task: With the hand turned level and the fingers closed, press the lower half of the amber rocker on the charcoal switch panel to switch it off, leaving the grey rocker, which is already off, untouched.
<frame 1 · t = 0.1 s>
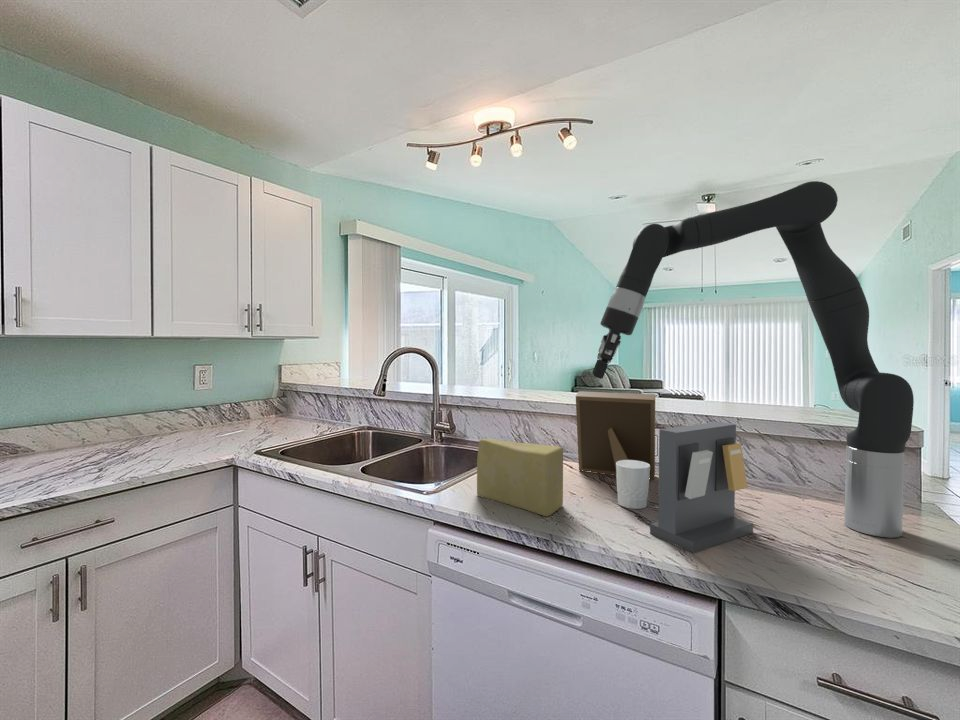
hand: (596, 376, 105), 32 cm above the worktop, tool tilted 20°, fingers open, 8 cm apart
white cup: (632, 505, 110), on the worktop
photo frame: (614, 479, 132), on the worktop
grey rocker: (698, 474, 87), point 14 cm above the worktop, hinge at -10.0°
power panel: (701, 533, 93), on the worktop
cheese: (514, 503, 111), on the worktop
amber rocker: (735, 466, 92), point 14 cm above the worktop, hinge at 10.0°
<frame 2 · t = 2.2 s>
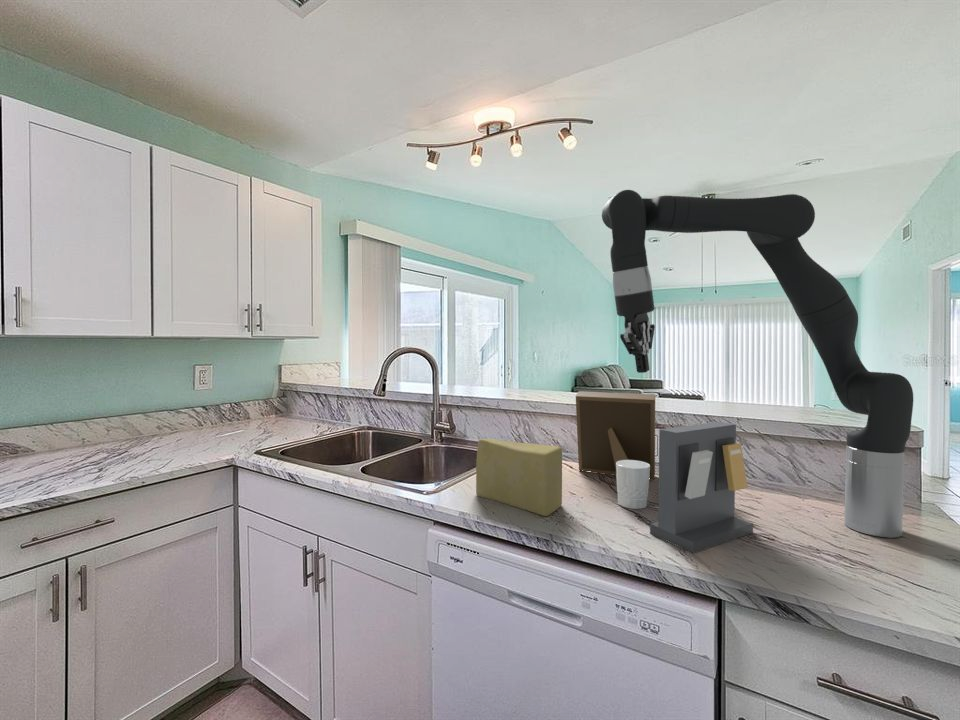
hand: (643, 371, 96), 33 cm above the worktop, tool pointing down, fingers closed
nothing on the worktop moved.
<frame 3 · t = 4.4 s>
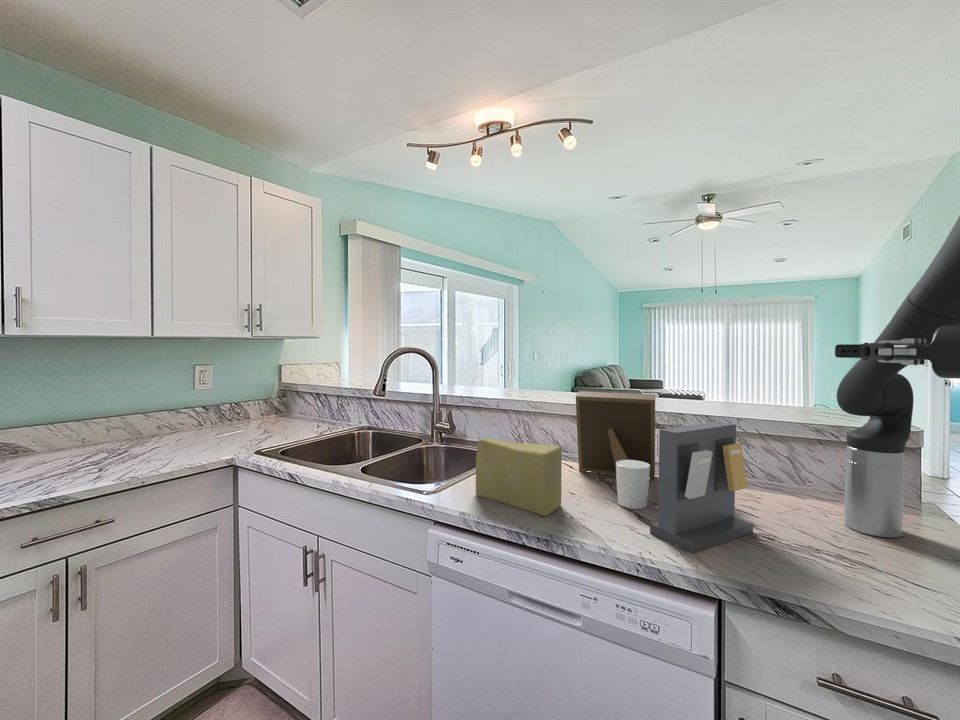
hand: (837, 350, 76), 38 cm above the worktop, tool horizontal, fingers closed
nothing on the worktop moved.
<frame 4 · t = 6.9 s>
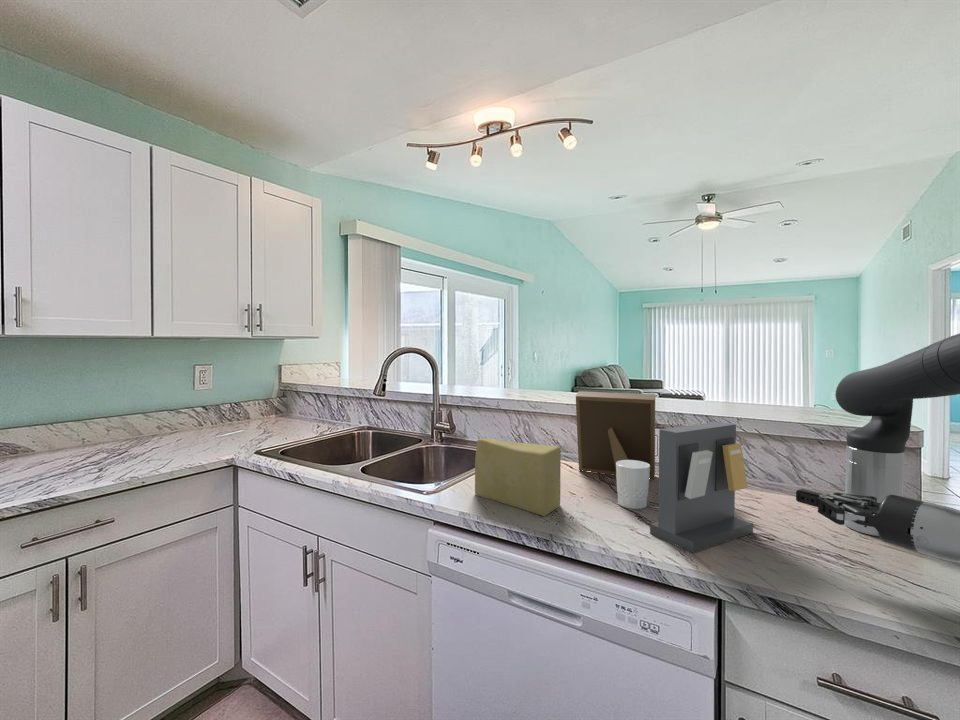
hand: (798, 494, 82), 12 cm above the worktop, tool horizontal, fingers closed
nothing on the worktop moved.
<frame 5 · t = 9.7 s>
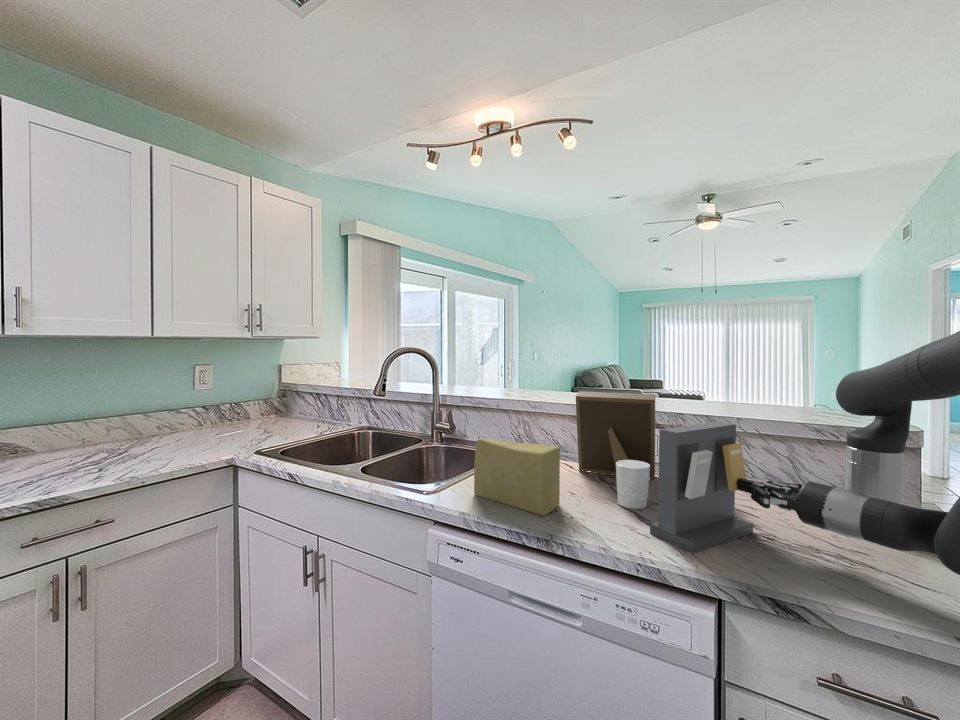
hand: (737, 483, 92), 11 cm above the worktop, tool horizontal, fingers closed
amber rocker: (735, 466, 92), point 14 cm above the worktop, hinge at 9.9°, touching gripper
everything else where it was.
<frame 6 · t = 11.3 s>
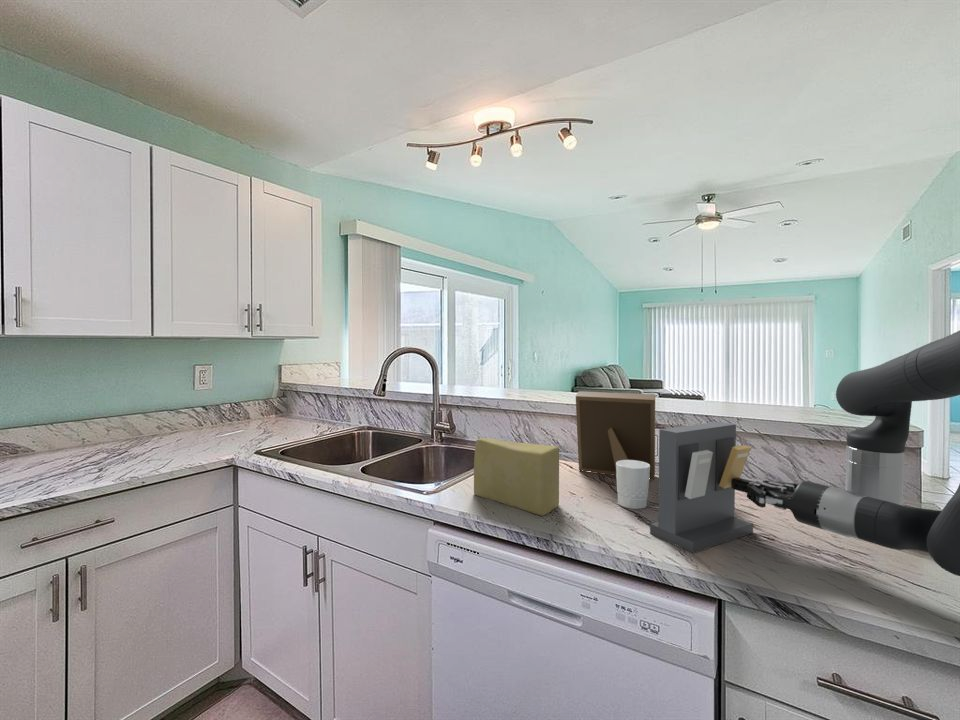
hand: (733, 482, 92), 11 cm above the worktop, tool horizontal, fingers closed
amber rocker: (735, 466, 92), point 14 cm above the worktop, hinge at -17.7°
everything else where it was.
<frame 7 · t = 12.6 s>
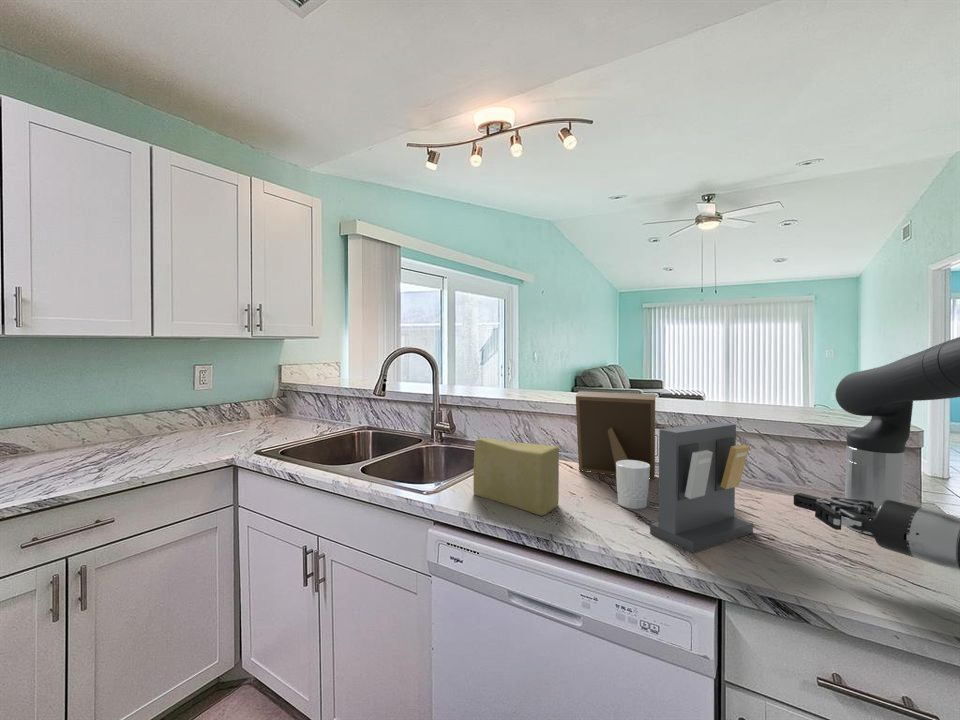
hand: (795, 498, 82), 11 cm above the worktop, tool horizontal, fingers closed
amber rocker: (735, 466, 92), point 14 cm above the worktop, hinge at -13.5°
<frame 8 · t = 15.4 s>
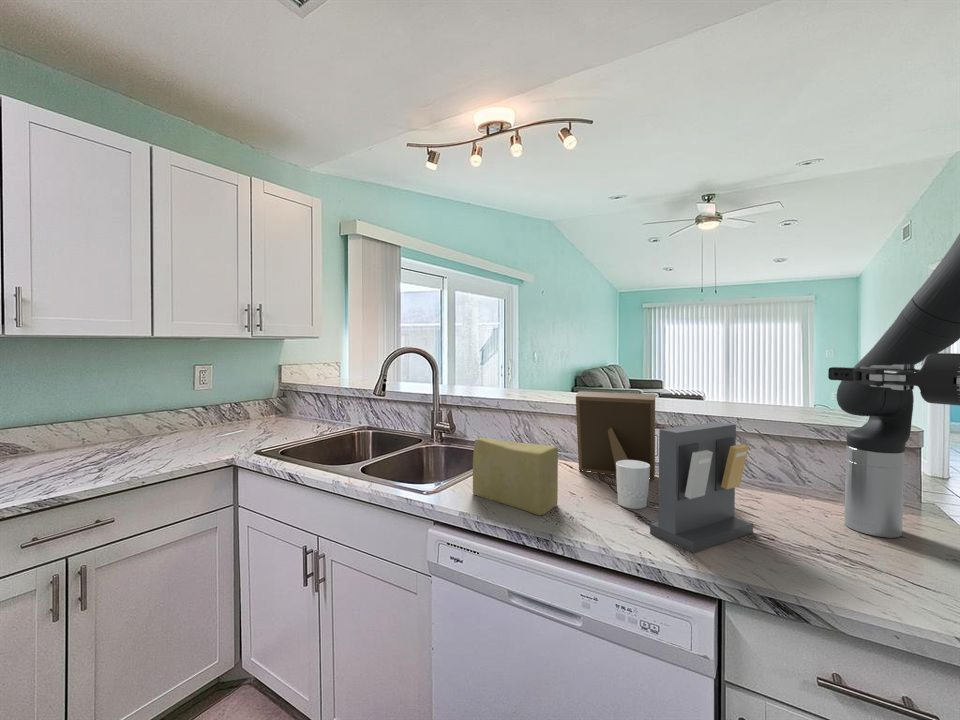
hand: (830, 373, 79), 34 cm above the worktop, tool horizontal, fingers closed
amber rocker: (735, 466, 92), point 14 cm above the worktop, hinge at -11.8°
at the end: amber rocker at -12° (first picture: +10°); grey rocker at -10° (first picture: -10°) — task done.
